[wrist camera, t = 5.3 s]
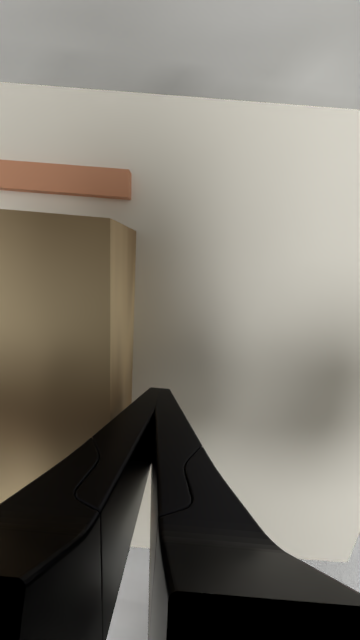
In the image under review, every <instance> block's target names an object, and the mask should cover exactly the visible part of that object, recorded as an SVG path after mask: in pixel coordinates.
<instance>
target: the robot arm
mask: <svg viewBox="0 0 360 640" xmlns="http://www.w3.org/2000/svg"><path fill="white" fill-rule="evenodd" d="M150 467H151V509H150V563H149V617H148V640H360V593H359V592H357V591H355V590H354V589H352V588H350V587H348V586H346V585H344V584H343V583H341V582H339V581H337V580H335V579H334V578H332V577H330V576H328V575H326V574H325V573H323V572H321V571H319V570H317V569H315V568H314V567H312V566H310V565H308V564H306V563H305V562H303V561H301V560H299V559H297V558H296V557H294V556H292V555H290V554H288V553H287V552H285V551H284V550H282V549H281V548H280V547H278V546H277V545H276V544H275V543H274V542H273V541H272V540H271V539H270V538H269V537H268V536H267V535H266V534H265V533H264V531H263V530H262V529H261V528H260V526H259V525H258V524H257V522H256V521H255V520H254V519H253V517H252V516H251V515H250V513H249V512H248V511H247V509H246V508H245V507H244V505H243V504H242V503H241V501H240V500H239V499H238V497H237V496H236V495H235V493H234V492H233V491H232V489H231V488H230V487H229V486H228V484H227V483H226V481H225V480H224V479H223V477H222V476H221V474H220V473H219V472H218V470H217V469H216V467H215V466H214V464H213V462H212V461H211V459H210V458H209V456H208V454H207V453H206V451H205V449H204V447H202V444H201V442H200V441H199V439H198V437H197V435H196V434H195V432H194V430H193V428H192V427H191V425H190V423H189V422H188V420H187V418H186V416H185V415H184V413H183V411H182V409H181V408H180V406H179V404H178V402H177V401H176V399H175V397H174V396H173V394H172V392H171V390H170V389H166V388H154V387H150V388H149V389H148V390H147V391H145V392H144V393H143V394H142V395H141V396H139V397H138V398H137V399H136V400H135V401H133V402H132V403H131V404H130V405H129V406H128V407H126V408H125V409H124V410H123V411H122V412H120V413H119V414H118V415H117V416H116V417H114V418H113V419H112V420H111V421H110V422H109V423H107V424H106V425H105V426H104V427H103V428H101V429H100V430H99V431H98V432H97V433H95V434H94V435H93V436H92V438H89V439H88V440H87V441H86V442H85V443H83V444H82V445H81V446H80V447H79V448H77V449H76V450H75V451H74V452H72V453H71V454H70V455H69V456H67V457H66V458H64V459H63V460H62V461H60V462H59V463H58V464H56V465H55V466H53V467H52V468H51V469H49V470H48V471H46V472H45V473H44V474H42V475H41V476H39V477H38V478H36V479H35V480H34V481H32V482H31V483H29V484H28V485H26V486H25V487H23V488H22V489H21V490H19V491H18V492H16V493H15V494H13V495H12V496H11V497H9V498H8V499H6V500H5V501H3V502H2V503H0V640H106V638H107V634H108V630H109V626H110V622H111V618H112V615H113V611H114V607H115V603H116V599H117V595H118V591H119V587H120V583H121V580H122V576H123V572H124V568H125V564H126V560H127V556H128V552H129V549H130V545H131V541H132V537H133V533H134V529H135V525H136V521H137V517H138V514H139V510H140V506H141V502H142V498H143V494H144V490H145V486H146V483H147V479H148V475H149V471H150Z"/></svg>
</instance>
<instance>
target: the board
mask: <svg viewBox="0 0 360 640" xmlns="http://www.w3.org/2000/svg"><path fill="white" fill-rule="evenodd" d="M0 209H8V210H20V211H32V212H44V213H55V214H67V215H79V216H91V217H103V218H111V219H113V220H115V221H117V222H119V223H121V224H123V225H125V226H127V227H129V228H131V229H133V230H135V231H136V261H135V297H134V333H133V369H132V402H133V401H135V400H136V399H137V398H138V397H139V396H141V395H142V394H143V393H144V392H145V391H147V390H148V389H149V388H150V387H154V388H166V389H170V390H171V392H172V394H173V396H174V397H175V399H176V401H177V402H178V404H179V406H180V408H181V409H182V411H183V413H184V415H185V416H186V418H187V420H188V422H189V423H190V425H191V427H192V428H193V430H194V432H195V434H196V435H197V437H198V439H199V441H200V442H201V444H202V447H204V449H205V451H206V453H207V454H208V456H209V458H210V459H211V461H212V462H213V464H214V466H215V467H216V469H217V470H218V472H219V473H220V474H221V476H222V477H223V479H224V480H225V481H226V483H227V484H228V486H229V487H230V488H231V489H232V491H233V492H234V493H235V495H236V496H237V497H238V499H239V500H240V501H241V503H242V504H243V505H244V507H245V508H246V509H247V511H248V512H249V513H250V515H251V516H252V517H253V519H254V520H255V521H256V522H257V524H258V525H259V526H260V528H261V529H262V530H263V531H264V533H265V534H266V535H267V536H268V537H269V538H270V539H271V540H272V541H273V542H274V543H275V544H276V545H277V546H278V547H280V548H281V549H282V550H284V551H285V552H287V553H288V554H290V555H292V556H294V557H296V558H297V559H306V560H320V561H334V562H348V561H349V558H350V556H351V553H352V551H353V548H354V546H355V543H356V540H357V538H358V535H359V533H360V110H356V109H343V108H330V107H318V106H305V105H292V104H279V103H266V102H253V101H240V100H227V99H214V98H201V97H188V96H175V95H162V94H149V93H136V92H123V91H110V90H97V89H85V88H72V87H59V86H46V85H33V84H20V83H7V82H0ZM150 509H151V467H150V471H149V475H148V479H147V483H146V486H145V490H144V494H143V498H142V502H141V506H140V510H139V514H138V517H137V521H136V525H135V529H134V533H133V537H132V541H131V545H130V547H136V548H150Z"/></svg>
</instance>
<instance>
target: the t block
mask: <svg viewBox="0 0 360 640" xmlns="http://www.w3.org/2000/svg"><path fill="white" fill-rule="evenodd" d="M135 261H136V231H135V230H133V229H131V228H129V227H127V226H125V225H123V224H121V223H119V222H117V221H115V220H113V219H111V218H103V217H91V216H79V215H67V214H55V213H44V212H32V211H20V210H8V209H0V503H2V502H3V501H5V500H6V499H8V498H9V497H11V496H12V495H13V494H15V493H16V492H18V491H19V490H21V489H22V488H23V487H25V486H26V485H28V484H29V483H31V482H32V481H34V480H35V479H36V478H38V477H39V476H41V475H42V474H44V473H45V472H46V471H48V470H49V469H51V468H52V467H53V466H55V465H56V464H58V463H59V462H60V461H62V460H63V459H64V458H66V457H67V456H69V455H70V454H71V453H72V452H74V451H75V450H76V449H77V448H79V447H80V446H81V445H82V444H83V443H85V442H86V441H87V440H88V439H89V438H92V436H93V435H94V434H95V433H97V432H98V431H99V430H100V429H101V428H103V427H104V426H105V425H106V424H107V423H109V422H110V421H111V420H112V419H113V418H114V417H116V416H117V415H118V414H119V413H120V412H122V411H123V410H124V409H125V408H126V407H128V406H129V405H130V404H131V403H132V369H133V333H134V297H135Z"/></svg>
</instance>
